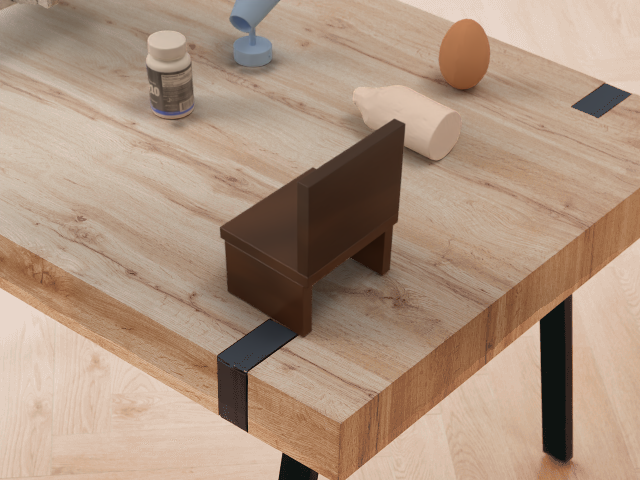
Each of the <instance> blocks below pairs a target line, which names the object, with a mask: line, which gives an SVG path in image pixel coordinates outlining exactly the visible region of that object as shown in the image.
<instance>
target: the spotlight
mask: <svg viewBox="0 0 640 480" xmlns="http://www.w3.org/2000/svg"><path fill="white" fill-rule="evenodd" d="M280 2H281V0H235V1H234V4H233V7H232V9H231V13H230V15H229V18H228V19H229V22H230V24H231V26H232V27H233V28H235V29H236V30H238V31H240V32H241V33H244V34H248V35H244V36H240V37H238V38H237V39H235V40H234V42H233V44H232V48H233V61H234V62H236V64H239V65H241V66H244V67H248V68H258V67H262V66H266V65H268V64H269V63H271V61H272V60H273V43H272V42H271V40H270V39H268V38H267V37H265V36H261V35H256V27H257V26H258V25H259V24H261V22H262V21H263V20H264V19H265V18H266V17H267V16H268V15H269V14H270V13H271V11H272V10H273V9H274V8H275V7H276V6H277V5H278V4H279V3H280Z"/></svg>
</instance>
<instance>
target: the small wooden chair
mask: <svg viewBox="0 0 640 480" xmlns="http://www.w3.org/2000/svg"><path fill="white" fill-rule="evenodd" d="M405 125H406V124H405V123H403V122H401V121H399V120H397V119H393V120H391V121H390V122H388V123H387V124H385V125H384V126H382V127H381V128H379V129H377V130H376V131H373V132H371V133H369V134H368V135H367V136H365V137H363V138H362V139H361V140H359V141H357V142H356V143H355V144H352V145H351V146H350V147H348V148H346V149H345V150H343V151H342V152H341V153H339V154H337V155H336V156H335V157H332V158H331V159H330V160H328V161H326V162H325V163H324V164H322V165H320V166H319V167H318V168H316V167H310V168H309V169H308V170H306V171H304V172H303V173H302V174H300V175H298V176H297V177H294V178H293V179H292V180H290V181H288V182H287V183H286V184H284V185H283V186H282V187H280V188H278V189H276V190H275V191H273V192H272V193H271V194H269V195H267V196H265V197H264V198H262V199H261V200H259V201H258V202H256V203H255V204H253V205H251V206H250V207H249V208H247V209H246V210H244V211H242V212H241V213H239V214H238V215H236V216H235V217H233V218H232V219H230V220H228V221H227V222H225V223H224V224H222V225H221V226H219V237H220V239H222V240H223V241H224V254H225V269H226V271H225V273H226V284H227V285H226V286H227V287H226V288H227V292H228V293H230V294H231V295H233V296H235V297H237V299H239V300H241V301H243V302H245V303H246V304H247V305H249V306H251V307H252V308H254V309H256V310H257V311H258V312H261V313H262V314H264V315H266V316H267V317H268V318H271V320H273V321H275V322H277V323H279V325H282V326H284V327H285V328H287V329H288V330H290V331H292V332H293V333H295V334H296V335H298V336H299V337H301V338H305V337H306V336H307V335H308V334H310V333H311V332H312V331H313V286H314V285H316V284H317V283H318V282H319V281H321V280H322V279H324V278H325V277H326V276H327V275H329V274H330V273H332V272H333V271H334V270H335V269H337V268H338V267H340V266H341V265H343V263H345V262H346V261H348V260H349V259H351V261H354V262H356V263H358V264H360V265H361V266H363V267H365V268H367V269H369V270H370V271H372V272H373V273H376V274H378V275H379V276H381V277H383V276H384V275H385V274H386V273H388V272H389V271H391V261H392V247H393V235H394V233H393V232H394V226H395V225H396V224H398V222H399V215H400V214H399V213H400V200H401V189H402V188H401V187H402V176H403V163H404V152H405V151H404V148H405V146H404V138H405Z"/></svg>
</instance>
